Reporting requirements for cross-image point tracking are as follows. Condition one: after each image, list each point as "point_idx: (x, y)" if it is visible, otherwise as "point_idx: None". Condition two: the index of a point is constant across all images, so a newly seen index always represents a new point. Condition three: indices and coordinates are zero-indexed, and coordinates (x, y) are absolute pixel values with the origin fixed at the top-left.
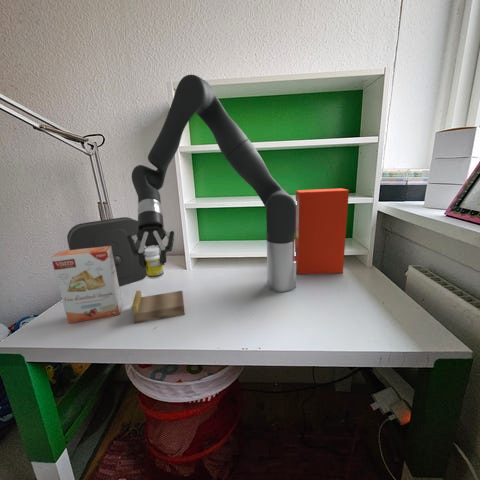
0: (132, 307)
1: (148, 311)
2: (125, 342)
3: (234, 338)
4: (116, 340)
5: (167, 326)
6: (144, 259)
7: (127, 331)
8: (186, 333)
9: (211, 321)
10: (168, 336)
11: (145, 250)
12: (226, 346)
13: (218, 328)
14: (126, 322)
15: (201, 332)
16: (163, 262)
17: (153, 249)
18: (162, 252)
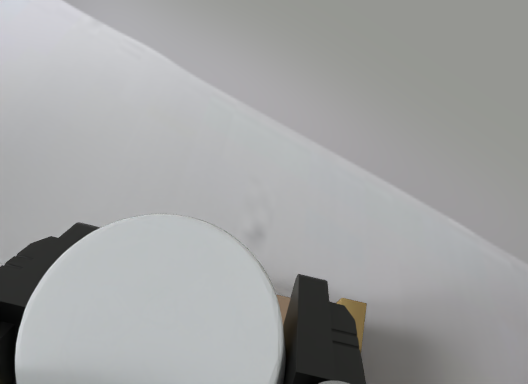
0: (361, 303)
1: (276, 295)
2: (375, 204)
3: (26, 29)
4: (409, 235)
5: (207, 217)
6: (285, 357)
7: (370, 275)
8: (155, 134)
9: (31, 150)
10: (221, 153)
11: (267, 321)
12: (72, 14)
13: (36, 97)
14: (378, 359)
15: (104, 110)
16: (86, 225)
17: (128, 295)
18: (11, 286)
